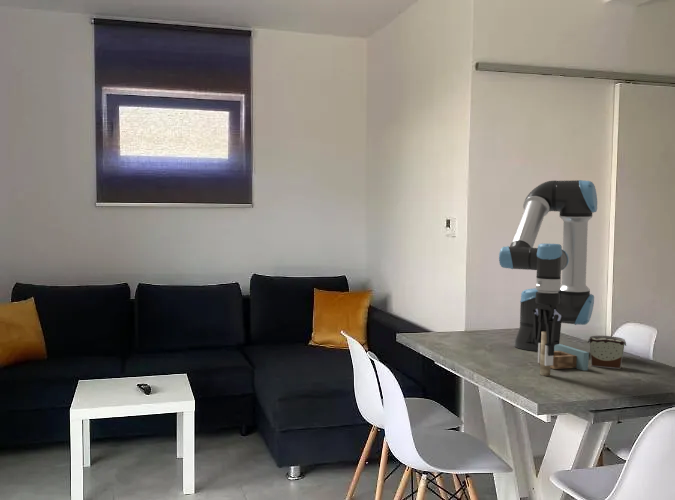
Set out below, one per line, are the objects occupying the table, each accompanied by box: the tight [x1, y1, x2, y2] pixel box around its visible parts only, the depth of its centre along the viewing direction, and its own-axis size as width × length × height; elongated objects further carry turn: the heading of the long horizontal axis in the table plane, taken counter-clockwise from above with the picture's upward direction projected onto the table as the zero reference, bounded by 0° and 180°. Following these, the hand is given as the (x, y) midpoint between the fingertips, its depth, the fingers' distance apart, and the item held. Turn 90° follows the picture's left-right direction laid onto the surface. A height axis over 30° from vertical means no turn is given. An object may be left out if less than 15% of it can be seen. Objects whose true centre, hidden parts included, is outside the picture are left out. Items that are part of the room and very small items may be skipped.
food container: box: [587, 335, 627, 370], centre depth 236 cm, size 12×6×10 cm, turn 71°
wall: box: [554, 343, 590, 372], centre depth 236 cm, size 2×16×6 cm, turn 19°
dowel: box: [539, 331, 551, 377], centre depth 220 cm, size 3×3×14 cm
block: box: [537, 351, 577, 370], centre depth 234 cm, size 9×9×4 cm
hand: (545, 363), depth 221 cm, fingers closed on dowel, 3 cm apart
